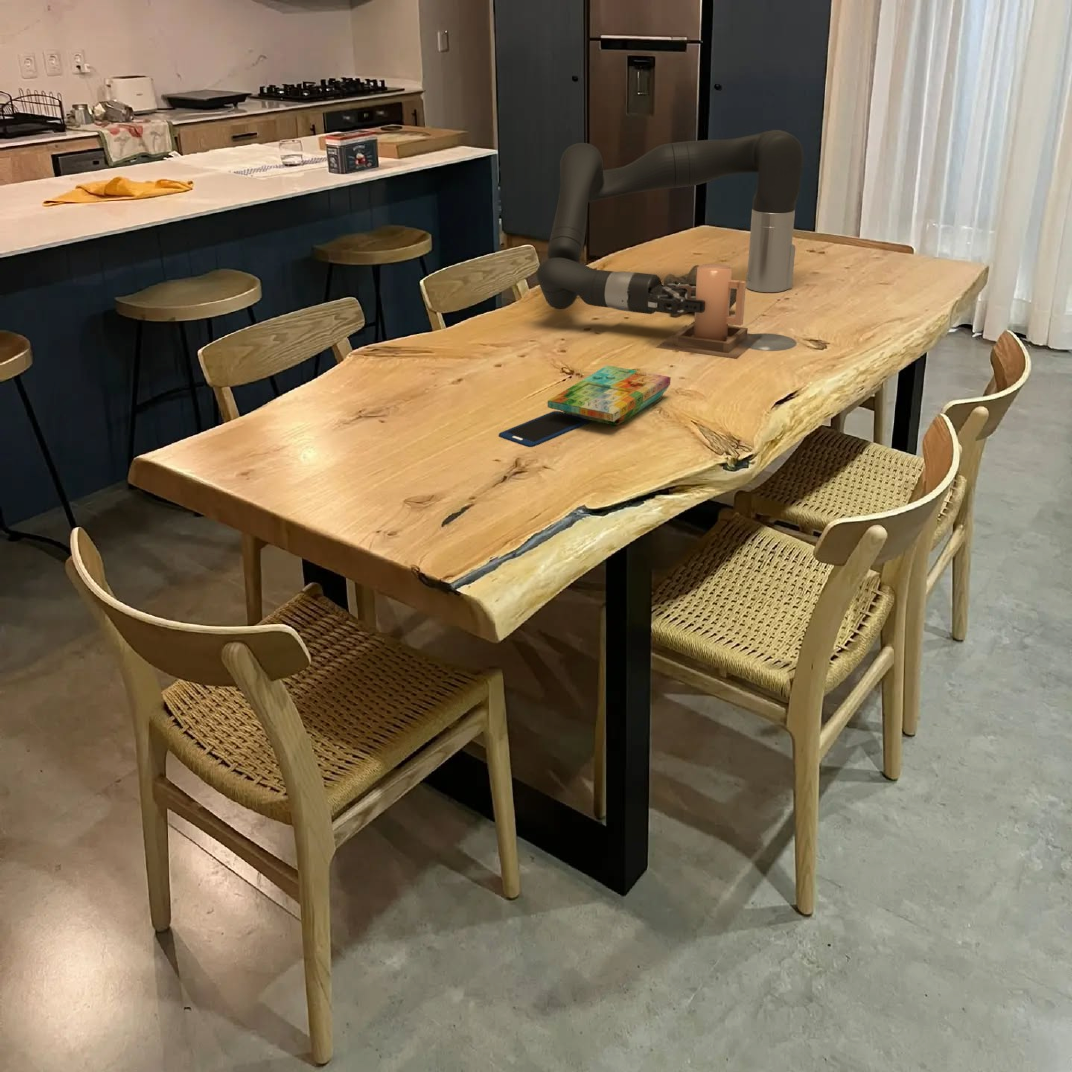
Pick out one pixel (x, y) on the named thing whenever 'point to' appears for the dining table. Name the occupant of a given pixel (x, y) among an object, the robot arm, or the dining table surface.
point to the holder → (708, 343)
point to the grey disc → (769, 342)
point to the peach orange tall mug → (717, 301)
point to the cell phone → (543, 428)
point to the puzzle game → (611, 395)
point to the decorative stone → (692, 278)
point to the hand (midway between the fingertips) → (712, 301)
